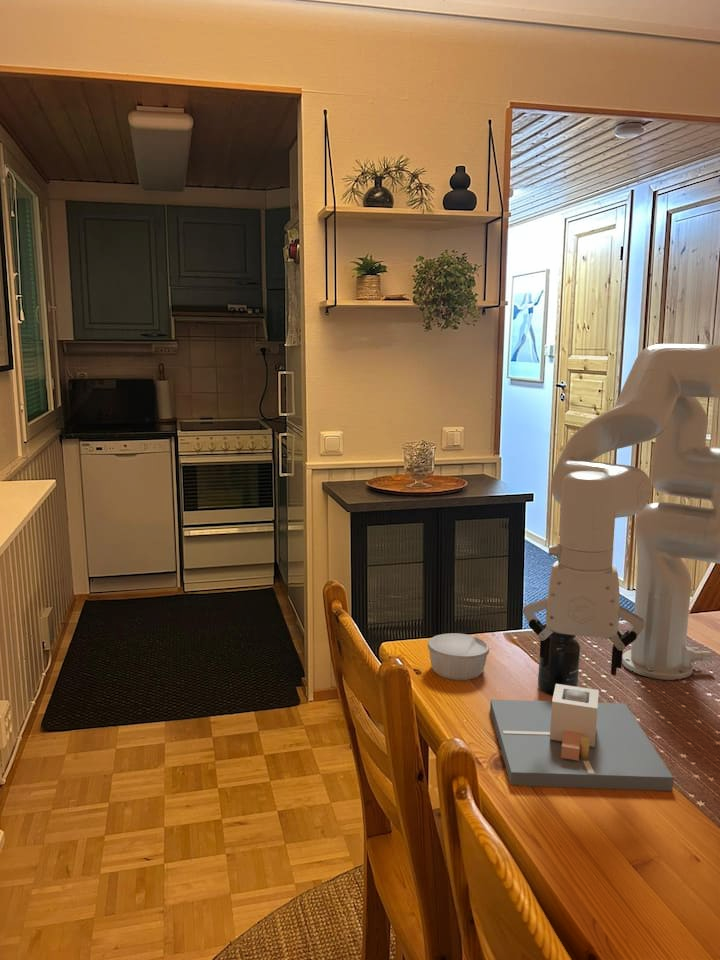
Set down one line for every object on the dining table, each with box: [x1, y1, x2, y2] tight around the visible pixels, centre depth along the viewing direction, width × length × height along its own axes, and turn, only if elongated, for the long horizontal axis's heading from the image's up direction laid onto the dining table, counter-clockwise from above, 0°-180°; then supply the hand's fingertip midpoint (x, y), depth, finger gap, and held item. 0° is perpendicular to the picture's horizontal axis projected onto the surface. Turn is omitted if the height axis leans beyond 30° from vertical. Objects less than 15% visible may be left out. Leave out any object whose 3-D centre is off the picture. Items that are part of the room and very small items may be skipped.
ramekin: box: [427, 632, 490, 681], centre depth 143 cm, size 11×11×5 cm
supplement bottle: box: [537, 632, 581, 697], centre depth 135 cm, size 7×7×12 cm
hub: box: [550, 684, 600, 761], centre depth 114 cm, size 11×6×6 cm, turn 161°
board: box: [489, 689, 674, 792], centre depth 116 cm, size 22×22×9 cm
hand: (580, 666), depth 115 cm, fingers open, 9 cm apart
